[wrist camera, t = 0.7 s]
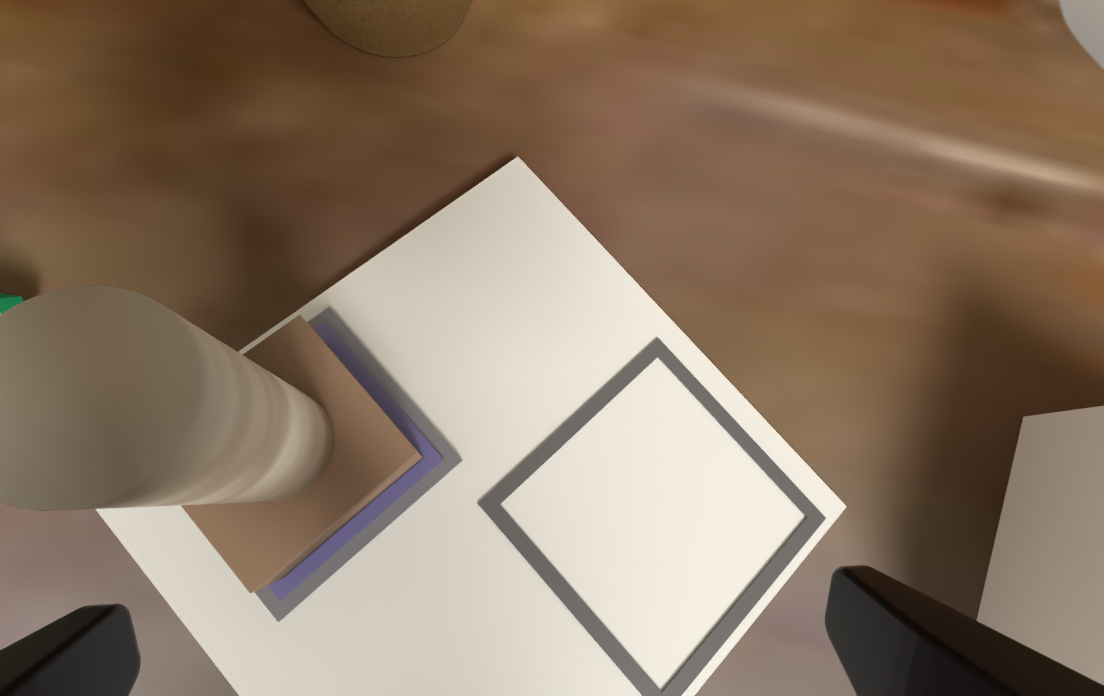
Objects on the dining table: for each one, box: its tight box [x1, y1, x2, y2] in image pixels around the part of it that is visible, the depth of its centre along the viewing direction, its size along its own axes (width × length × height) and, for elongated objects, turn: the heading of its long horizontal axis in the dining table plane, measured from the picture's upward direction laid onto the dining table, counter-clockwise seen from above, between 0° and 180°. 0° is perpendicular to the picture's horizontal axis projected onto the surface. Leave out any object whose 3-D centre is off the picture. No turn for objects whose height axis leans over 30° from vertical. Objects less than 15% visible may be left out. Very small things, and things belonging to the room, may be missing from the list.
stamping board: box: [96, 157, 847, 696], centre depth 21 cm, size 21×21×1 cm
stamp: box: [0, 285, 424, 594], centre depth 14 cm, size 6×6×12 cm
